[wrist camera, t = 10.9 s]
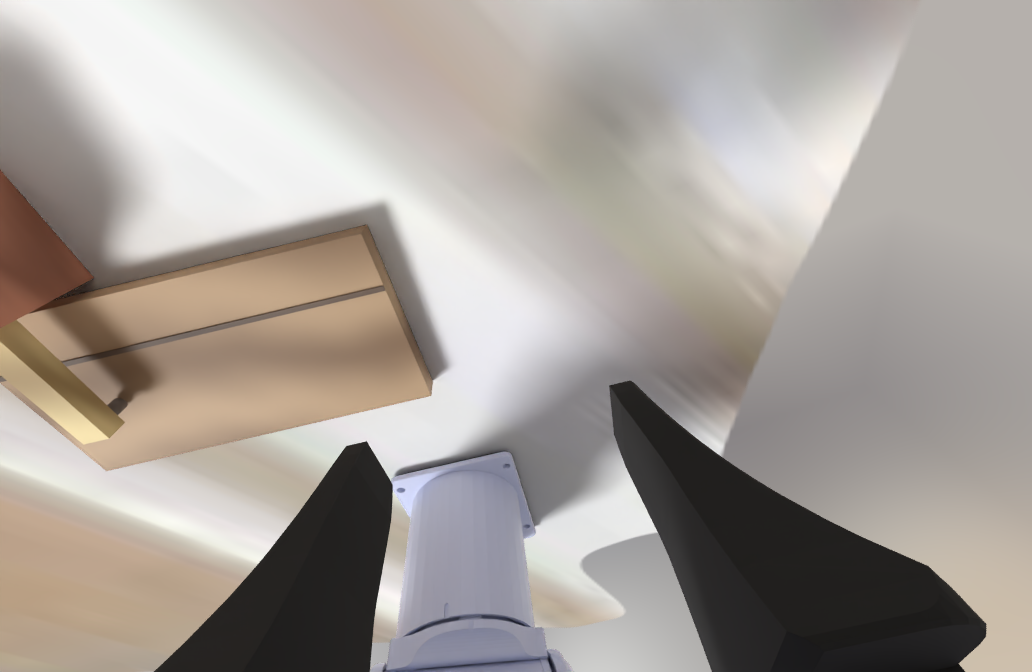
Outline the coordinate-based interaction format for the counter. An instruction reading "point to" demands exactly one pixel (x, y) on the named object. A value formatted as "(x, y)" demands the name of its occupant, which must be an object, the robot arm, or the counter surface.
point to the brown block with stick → (22, 289)
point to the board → (236, 347)
